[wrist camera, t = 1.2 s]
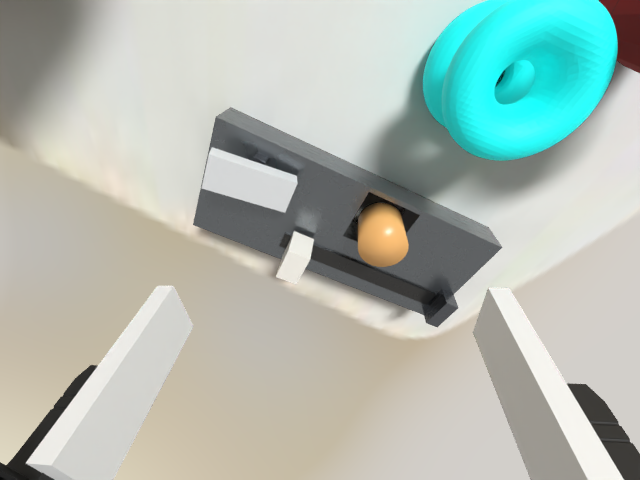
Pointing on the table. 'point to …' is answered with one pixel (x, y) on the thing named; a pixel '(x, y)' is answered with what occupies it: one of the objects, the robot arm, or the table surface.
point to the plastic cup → (626, 30)
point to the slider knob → (295, 258)
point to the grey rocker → (248, 180)
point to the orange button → (381, 235)
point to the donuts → (520, 74)
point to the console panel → (345, 221)
